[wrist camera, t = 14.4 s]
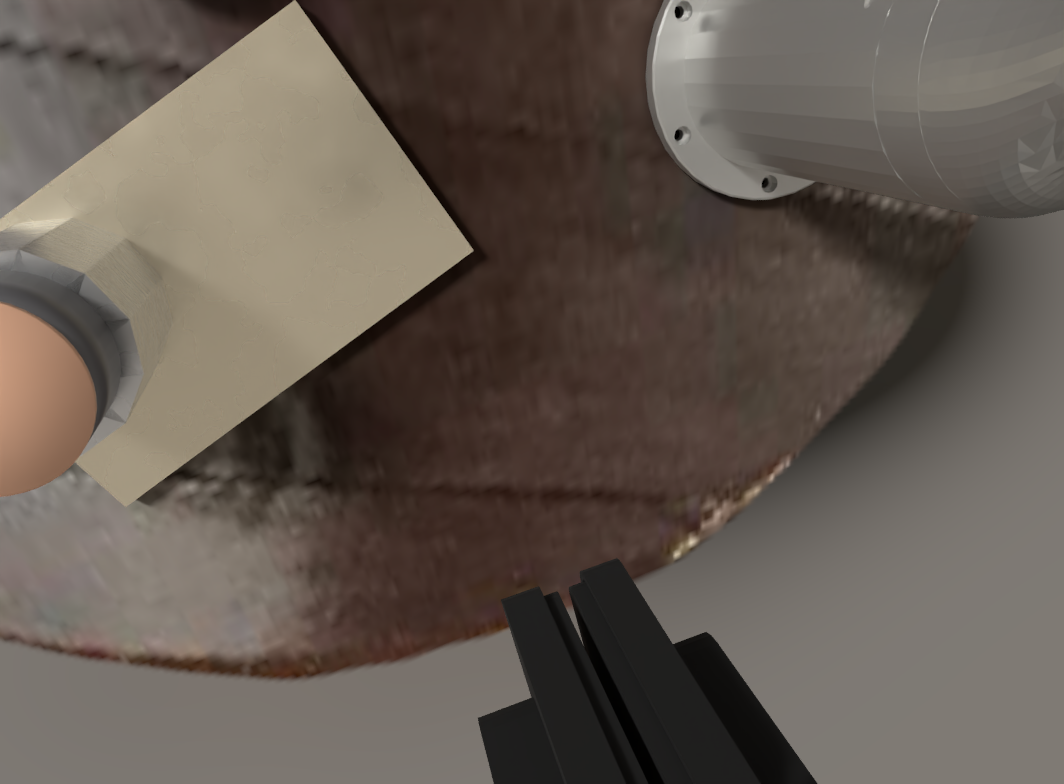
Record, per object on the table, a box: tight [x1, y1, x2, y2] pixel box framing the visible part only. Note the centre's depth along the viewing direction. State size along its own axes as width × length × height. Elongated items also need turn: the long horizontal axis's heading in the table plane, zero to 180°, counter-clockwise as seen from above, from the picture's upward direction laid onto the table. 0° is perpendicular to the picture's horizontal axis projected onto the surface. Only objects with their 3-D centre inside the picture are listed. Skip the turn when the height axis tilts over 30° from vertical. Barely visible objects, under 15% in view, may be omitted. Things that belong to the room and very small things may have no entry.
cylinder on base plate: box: [0, 0, 474, 507], centre depth 34 cm, size 21×13×8 cm, turn 124°
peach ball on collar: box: [0, 270, 121, 497], centre depth 29 cm, size 7×7×7 cm
